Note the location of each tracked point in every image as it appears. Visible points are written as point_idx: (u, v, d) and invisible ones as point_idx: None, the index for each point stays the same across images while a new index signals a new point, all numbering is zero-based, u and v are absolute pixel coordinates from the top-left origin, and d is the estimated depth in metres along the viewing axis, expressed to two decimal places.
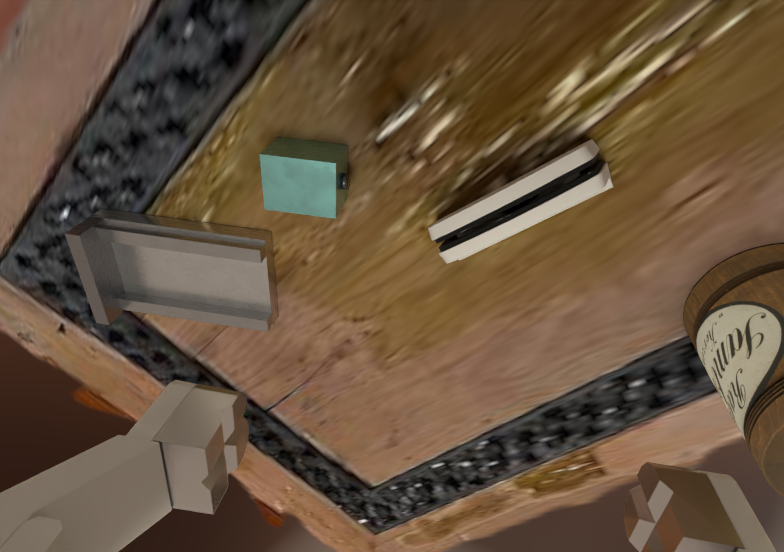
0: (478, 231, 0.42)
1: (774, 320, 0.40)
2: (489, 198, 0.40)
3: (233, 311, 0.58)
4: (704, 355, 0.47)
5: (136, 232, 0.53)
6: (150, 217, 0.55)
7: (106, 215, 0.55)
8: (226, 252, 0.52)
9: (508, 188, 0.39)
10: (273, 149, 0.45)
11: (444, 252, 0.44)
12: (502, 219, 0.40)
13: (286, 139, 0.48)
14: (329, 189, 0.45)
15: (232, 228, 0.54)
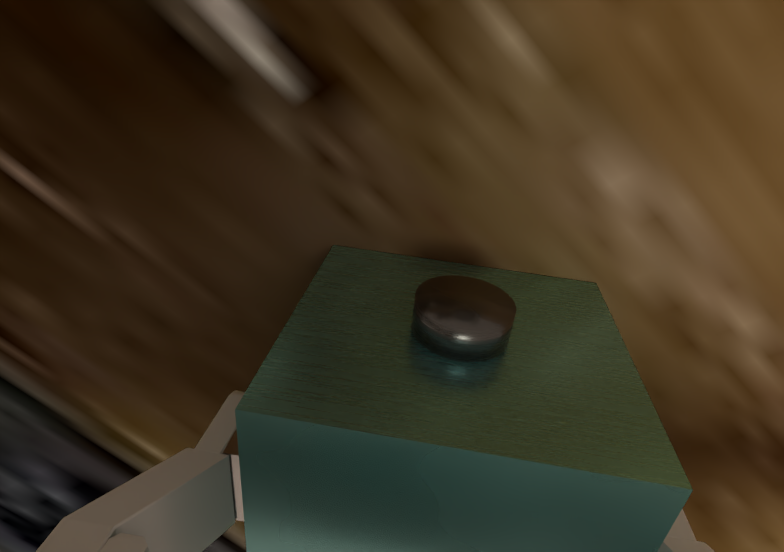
0: None
1: None
2: None
3: None
4: None
5: None
6: None
7: None
8: None
9: None
10: None
11: None
12: None
13: None
14: (432, 481, 0.06)
15: None
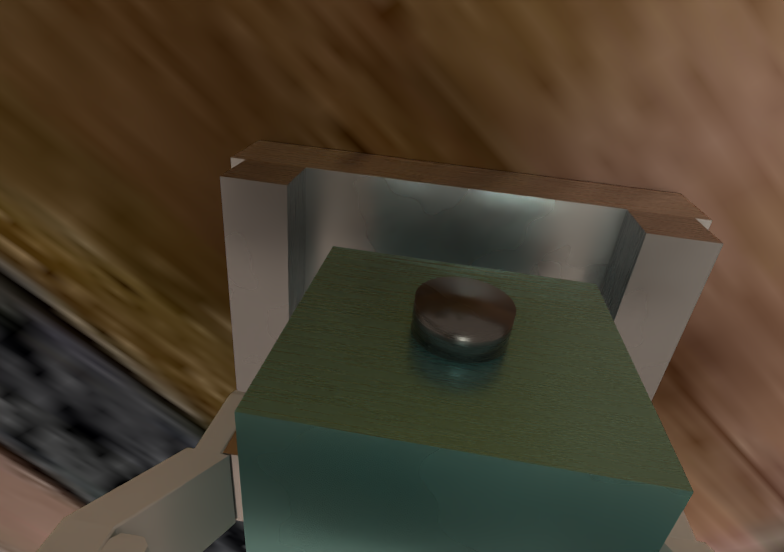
0: None
1: None
2: None
3: None
4: None
5: None
6: None
7: None
8: (260, 317, 0.13)
9: None
10: None
11: None
12: None
13: None
14: (432, 483, 0.06)
15: None
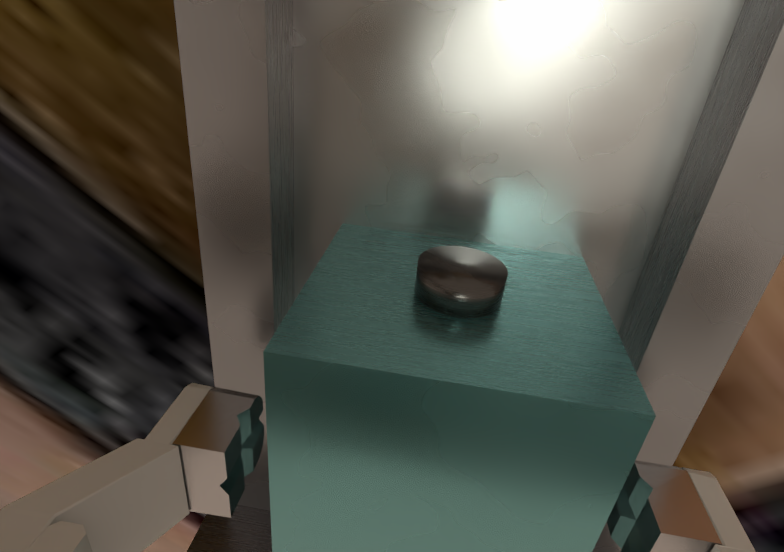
0: None
1: None
2: None
3: None
4: None
5: None
6: None
7: None
8: None
9: None
10: None
11: None
12: None
13: None
14: (433, 414, 0.07)
15: None
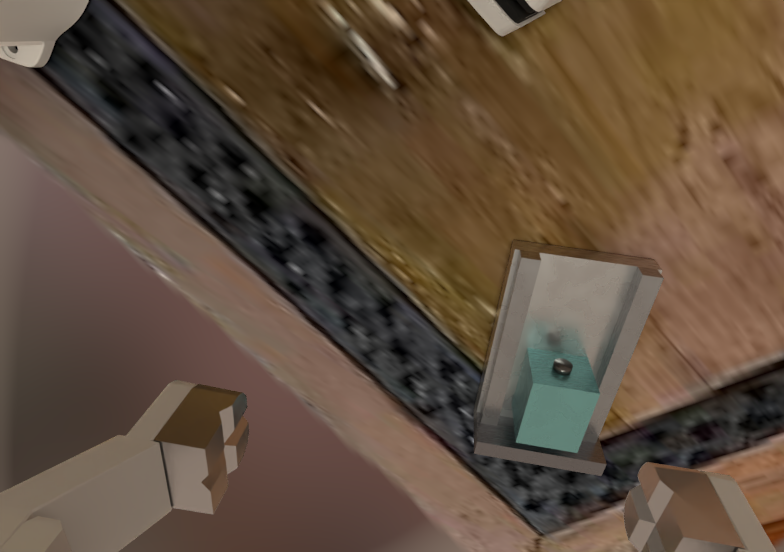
0: None
1: None
2: None
3: (622, 315, 0.42)
4: None
5: (489, 386, 0.47)
6: (484, 367, 0.49)
7: (476, 408, 0.51)
8: (521, 298, 0.42)
9: None
10: (515, 424, 0.46)
11: (529, 2, 0.28)
12: None
13: (514, 400, 0.48)
14: (562, 393, 0.41)
15: (503, 284, 0.45)
